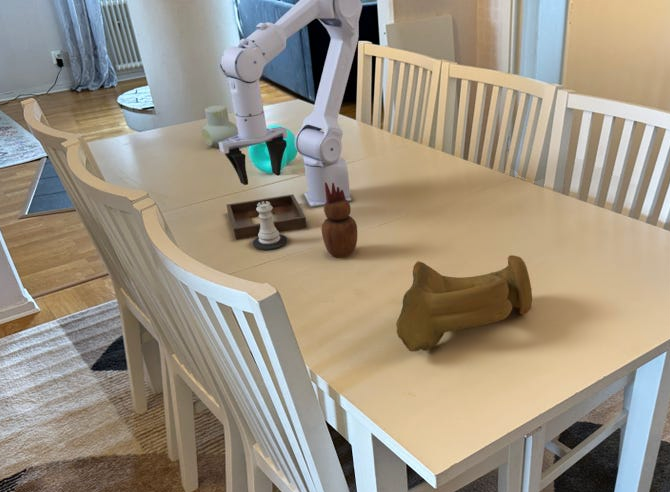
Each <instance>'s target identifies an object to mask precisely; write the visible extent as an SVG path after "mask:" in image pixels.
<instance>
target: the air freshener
mask: <svg viewBox="0 0 670 492" xmlns="http://www.w3.org/2000/svg"><path fill="white" fill-rule="evenodd" d="M228 113H229V112H228V108H227V107H226V106H225V105H219V104H218V105H211V106H207V107H206V108H205V109H204V114H205V119H206V124H205V125H204V126H203V127H202V128H201V130H200V133H201V137H202V139H203V141H204V142H205V143H206V145H208V146H210V147H212V148H220V147H219V142H221V141H224V140H227V139H229V138H232V137H234V136H236V135H239V134H238V128H237V124H235V123H234V122H232V121H230V118H229V114H228Z"/></svg>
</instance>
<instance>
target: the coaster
mask: <svg viewBox="0 0 670 492" xmlns="http://www.w3.org/2000/svg"><path fill="white" fill-rule="evenodd" d="M279 236H280V240H279V241H278V242H277V243H275V244H272V245H264V244H262V243H260V242H259V240H258V239H259V237H258V236H256V238H254V239H253V241H252V246H253V247H254V248H255V249H256V250H259V251H274V250H277V249H280V248H283V247H284V246H286V245H287V244H288V237H287V236H285V235H284V234H281V233H279Z"/></svg>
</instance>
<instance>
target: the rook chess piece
mask: <svg viewBox="0 0 670 492" xmlns="http://www.w3.org/2000/svg"><path fill="white" fill-rule="evenodd" d="M257 206H258V207H257V208H256V210H257V211H258V212H259V217H258V218H259V220H260V221H259V222H260V230H259V231H260V232H259V233H258V236H257V237H259V239H258V240H259V242H260V243H262V244H264V245H272V244H275V243H277V242H278V241H279V240H280V236H279V234H280V232H279V231H278V230H277V229H276V227H275V226H274V223H273V221H274V220H273V215H274V214H272V213H271V210H272V208H273V207H272V206H271V205H270V203H269V202H267V201H266V204H264V201H263V202H262V204H261V203H260V202H259V203H258V204H257Z"/></svg>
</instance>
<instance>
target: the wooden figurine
mask: <svg viewBox="0 0 670 492" xmlns="http://www.w3.org/2000/svg"><path fill="white" fill-rule="evenodd" d="M325 191H326V203H325V205H323V212H324V215H325V219H324V221H323V222H322V224H321V230H320V231H321V236H322V241H323V243H324V246H325V248H326V251H327V253H328V254H329V255H330V256H332V257H335V258H344V257H349V256H350V255H352V254H353V253H354V252H355V250H356V248H357V243H358V225H357V221H356V220H355V219H354V218H353V217H352V216H350V215H351V212H352V211H351V209H352V208H351V204H350V201H347V200H346V199H345V195H344V192H343V190H341V191H340V190H339V187H337V191H336V190H335V186H334V183H332V191H331V193H330V190H329V188H328V185H327V183H326V182H325Z"/></svg>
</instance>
